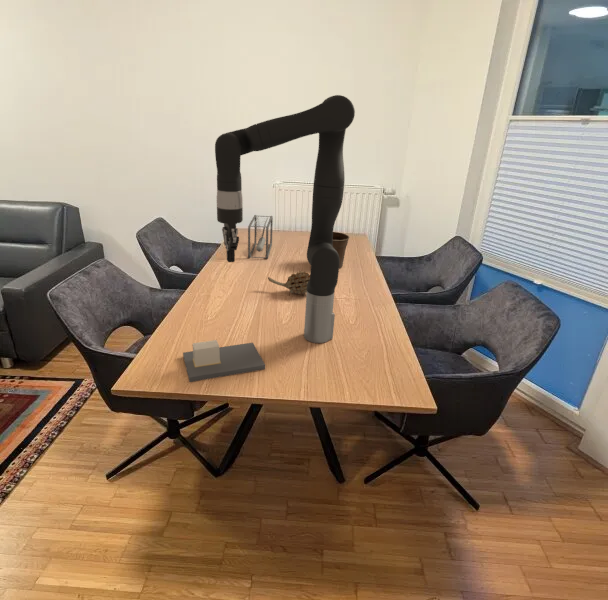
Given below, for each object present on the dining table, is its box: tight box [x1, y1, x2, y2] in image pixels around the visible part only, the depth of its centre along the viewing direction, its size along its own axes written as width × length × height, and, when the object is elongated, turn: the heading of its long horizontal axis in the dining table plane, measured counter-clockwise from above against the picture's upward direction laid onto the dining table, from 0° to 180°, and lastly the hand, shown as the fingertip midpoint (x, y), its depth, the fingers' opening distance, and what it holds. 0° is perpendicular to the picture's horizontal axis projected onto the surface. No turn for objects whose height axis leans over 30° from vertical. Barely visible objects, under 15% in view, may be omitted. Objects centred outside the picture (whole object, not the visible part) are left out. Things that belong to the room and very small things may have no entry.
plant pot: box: [333, 231, 350, 269], centre depth 211 cm, size 16×16×16 cm
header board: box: [182, 342, 266, 383], centre depth 123 cm, size 22×14×6 cm, turn 112°
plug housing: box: [192, 339, 220, 366], centre depth 121 cm, size 7×4×6 cm, turn 112°
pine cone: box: [267, 270, 310, 295], centre depth 176 cm, size 22×10×10 cm, turn 84°
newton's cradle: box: [247, 214, 274, 260], centre depth 228 cm, size 30×10×18 cm, turn 0°
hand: (230, 261), depth 128 cm, fingers closed
